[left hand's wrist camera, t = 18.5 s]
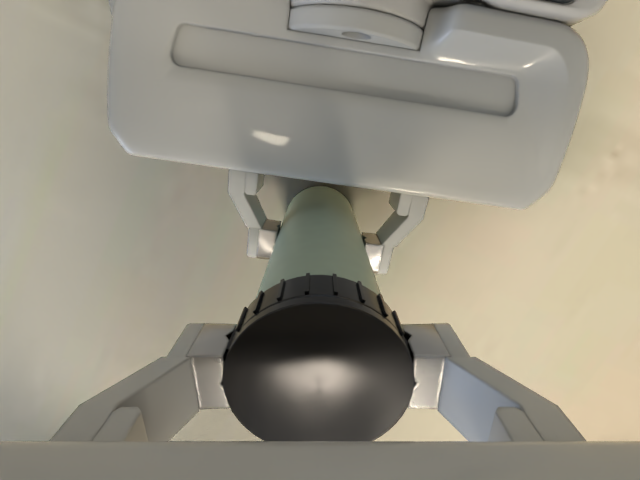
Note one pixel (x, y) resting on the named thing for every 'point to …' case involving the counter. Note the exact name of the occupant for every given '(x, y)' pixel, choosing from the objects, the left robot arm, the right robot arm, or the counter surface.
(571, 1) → the right robot arm
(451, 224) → the counter surface
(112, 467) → the left robot arm
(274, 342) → the lid
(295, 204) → the jar
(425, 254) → the counter surface
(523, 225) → the counter surface
